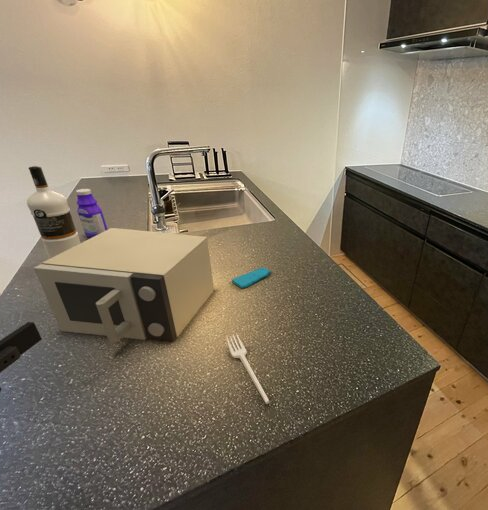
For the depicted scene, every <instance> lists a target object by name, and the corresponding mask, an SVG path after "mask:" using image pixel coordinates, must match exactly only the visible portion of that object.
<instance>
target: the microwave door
mask: <svg viewBox="0 0 488 510" xmlns="http://www.w3.org/2000/svg"><path fill="white" fill-rule="evenodd" d="M33 270H34V272H35V274H36V277H37V280H38V282H39V284H40V286H41V289H42V291H43V293H44V295H45V297H46V300H47V302H48V304H49V307H50V309H51V311H52V313H53V316H54V318H55V320H56V323H57V325H58V328H59V330H60V331H61V332H66V333H75V334H83V335H84V334H85V335H93V336H95V335H97V336H106V338H107V340H108V342H109V344H111V345H113V344H116V343H118V342H119V341H120V340H122V338H123V339H133V340H134V339H135V340H142V341H143V340H144V341H145V340H146V339H147V335H146V331H145V328H144V324H143V320H142V317H141V313H140V309H139V306H138V302H137V298H136V295H135V291H134V287H133V284H132V280H131V276H132V275H133V273H125V272H115V271H105V270H94V269H84V268H74V267H64V266H54V265H44V264H42V263H40V264H38V265H36V266H34V267H33Z"/></svg>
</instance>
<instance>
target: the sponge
mask: <svg viewBox="0 0 488 510" xmlns="http://www.w3.org/2000/svg"><path fill="white" fill-rule="evenodd" d="M271 273H272V271H271V270H270V269H267V268H265V267H260V268H258V269H254V270H252V271H249V272H247V273H244V274H241V275H238V276H236V277H234V278H232V279H231V282H232V283H233V284H234V285H236V286H237V287H239V288H240V289H247V288H249V287H251V286H252V285H253V284H256V283H257V282H259V281H261V280H263V279H265V278H267V277H268V276H270V275H271Z"/></svg>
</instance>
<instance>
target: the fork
mask: <svg viewBox="0 0 488 510" xmlns="http://www.w3.org/2000/svg"><path fill="white" fill-rule="evenodd" d="M235 335H236V337H235ZM235 335H234V334H232V335H229V337H228V336H226V342H227V345H228V346H227V347H228V350H229V353H230V355H231V357H232V358H233V359H239V360H240V361H241V363H242V365H243V366H244V368H245V370H246V372H247V373H248V375H249V377H250V379H251V380H252V382H253V384H254V387H256V390H257V391H258V393H259V395H260V396H261V398H262V400H263V402H264V404H265V405H268V404H270V403H271V402H270V400H269V397H268V396H267V394H266V392H265V391H264V389H263V387H262V385H261V383H260V382H259V380H258V378H257V376H256V374H255V372H254V371H253V369H252V366H251V365H250V363H249V361H248V359H247V357H246V355H247V353H248V351H247V348H246V347H245V345H244V343H243V341H242V340H241V339H240V337H239V335H238V333H237V332H235ZM236 338H237V339H236ZM229 339H230V340H229Z"/></svg>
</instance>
